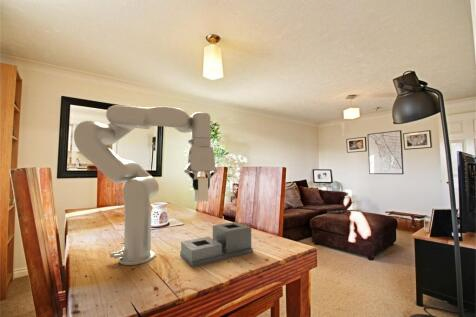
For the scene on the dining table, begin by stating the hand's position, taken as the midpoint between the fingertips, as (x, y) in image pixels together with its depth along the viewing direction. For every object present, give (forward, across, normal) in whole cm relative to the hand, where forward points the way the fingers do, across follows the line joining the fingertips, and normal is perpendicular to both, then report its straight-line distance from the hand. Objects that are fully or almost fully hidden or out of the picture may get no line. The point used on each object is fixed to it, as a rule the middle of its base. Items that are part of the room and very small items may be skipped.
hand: (201, 188), depth 87 cm
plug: (+5, 0, 0) cm, 5 cm away
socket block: (+27, +7, 0) cm, 27 cm away
